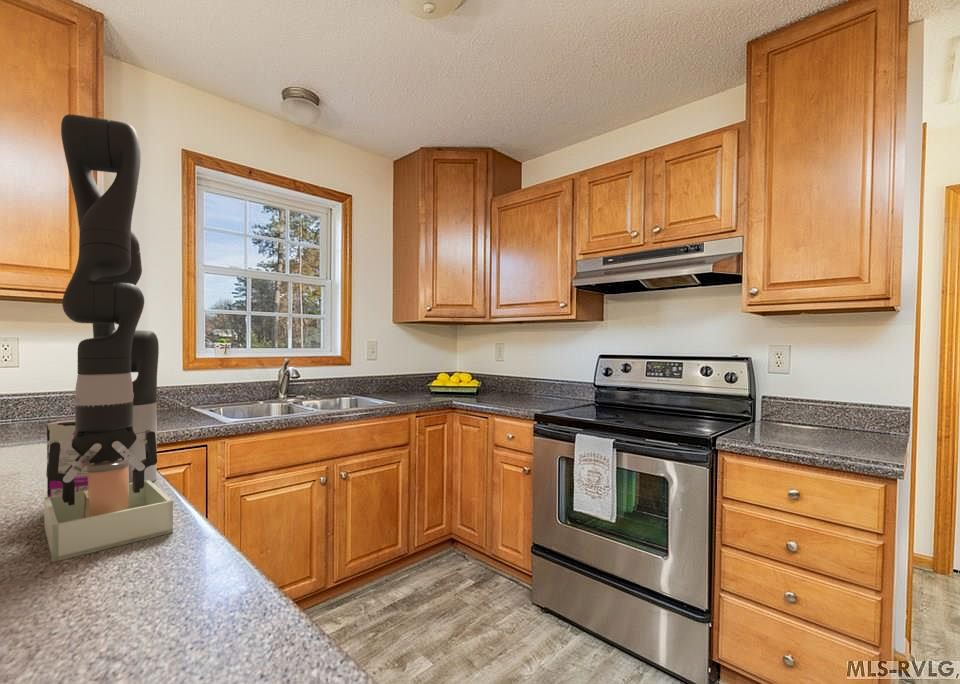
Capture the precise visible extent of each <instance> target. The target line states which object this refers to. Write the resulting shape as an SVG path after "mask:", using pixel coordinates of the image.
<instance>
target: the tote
mask: <svg viewBox="0 0 960 684" xmlns="http://www.w3.org/2000/svg"><path fill="white" fill-rule="evenodd" d="M129 501H130V509H127V510H122V511H117V512H112V513H107V514H102V515H97V516H92V517H87V518H84V491H81V492H76V493H75V504H74V505H70V506H69V505H68V502H67V503H64V501H63V499H62V495H58V496H52V497H44V507H43V508H44V517H43V518H44V521H43V522H44V524H43V526H44V528H43V529H44V533H45V537H46V540H47V545H48V549H49V553H50V557H51V562H52V563H55V562H59V561H64V560H68V559H71V558H75V557H80V556H83V555H87V554H91V553H95V552H99V551H104V550H106V549H112V548H115V547H119V546H124V545H127V544H132V543H135V542H136V543H137V542H140V541H143V540H148V539H153V538H156V537H160V536H165V535H167V534H172V533H174V500H173V499H172V498H170V497H169V496H168V495H167V494H166V493H165V492H164V491H162V490H161V489H160V488H159V487H158V486H156V485H155V484H154V483H153V482H151V481H150V480H145V481H144V487H143V488H142V489H140V492H139V493H134V492H133V483H129Z"/></svg>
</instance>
